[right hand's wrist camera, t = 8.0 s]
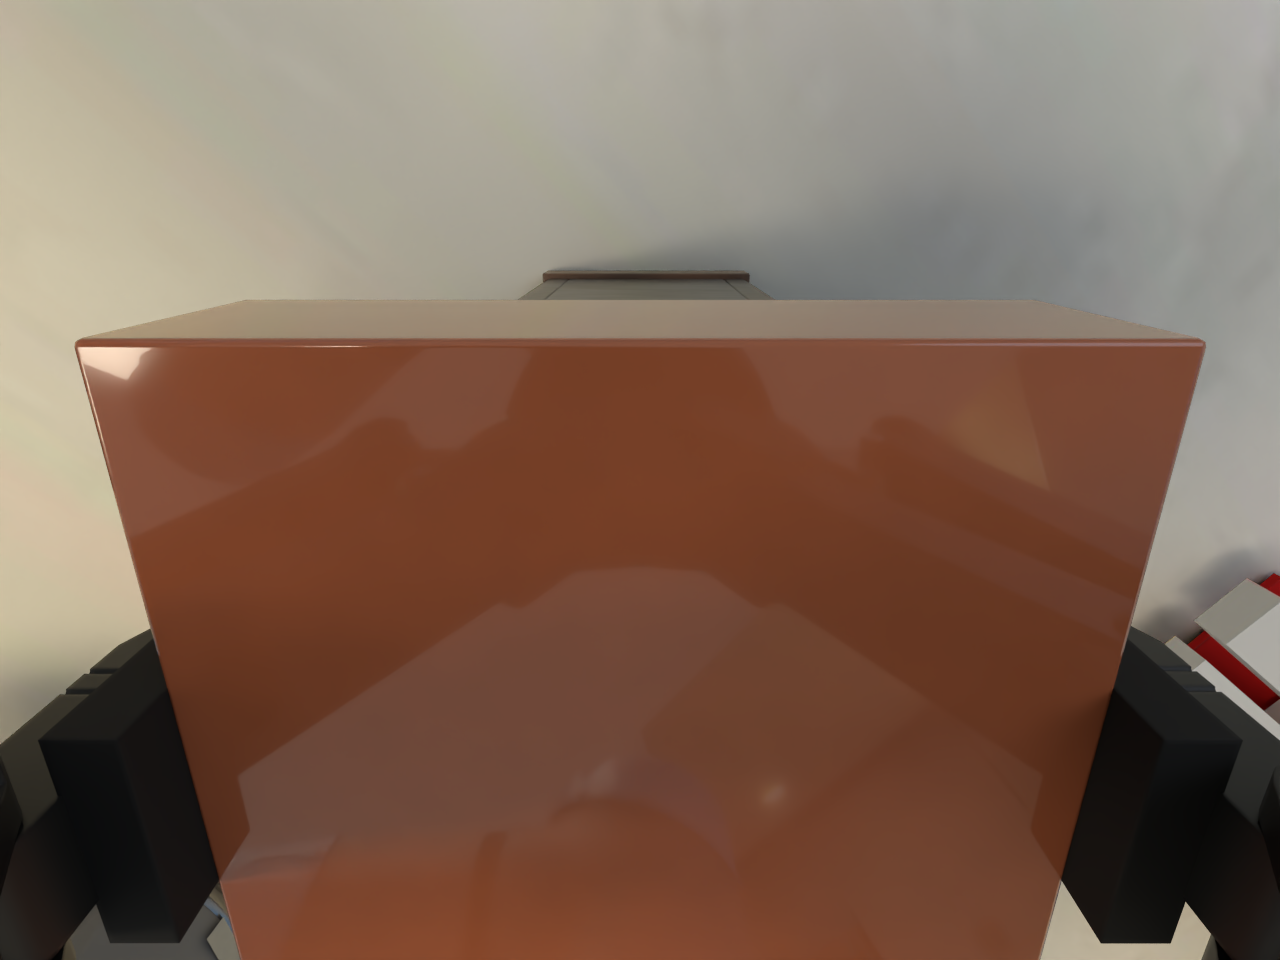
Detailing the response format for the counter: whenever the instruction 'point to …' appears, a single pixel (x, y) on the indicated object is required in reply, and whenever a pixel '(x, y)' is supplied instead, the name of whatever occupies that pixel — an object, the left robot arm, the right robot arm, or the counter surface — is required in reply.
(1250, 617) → the toy
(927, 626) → the glossy orange tile
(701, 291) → the brown wooden desk organizer
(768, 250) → the counter surface
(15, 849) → the right robot arm
